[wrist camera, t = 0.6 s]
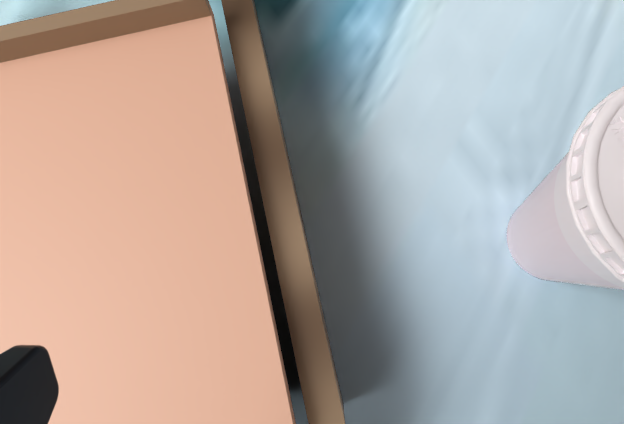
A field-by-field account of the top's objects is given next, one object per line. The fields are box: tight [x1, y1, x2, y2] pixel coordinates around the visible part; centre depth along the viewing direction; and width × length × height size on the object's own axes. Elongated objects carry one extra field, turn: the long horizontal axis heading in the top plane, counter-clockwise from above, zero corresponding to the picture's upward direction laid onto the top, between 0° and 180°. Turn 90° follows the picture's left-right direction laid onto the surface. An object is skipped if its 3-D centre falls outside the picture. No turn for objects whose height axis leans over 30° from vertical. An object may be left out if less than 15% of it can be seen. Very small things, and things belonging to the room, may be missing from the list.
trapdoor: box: [0, 0, 296, 424], centre depth 19 cm, size 16×10×5 cm, turn 13°
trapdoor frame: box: [221, 0, 345, 424], centre depth 21 cm, size 22×13×4 cm, turn 13°
